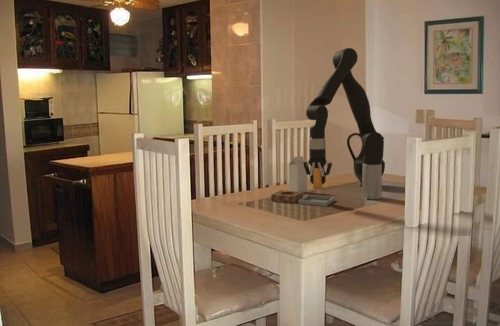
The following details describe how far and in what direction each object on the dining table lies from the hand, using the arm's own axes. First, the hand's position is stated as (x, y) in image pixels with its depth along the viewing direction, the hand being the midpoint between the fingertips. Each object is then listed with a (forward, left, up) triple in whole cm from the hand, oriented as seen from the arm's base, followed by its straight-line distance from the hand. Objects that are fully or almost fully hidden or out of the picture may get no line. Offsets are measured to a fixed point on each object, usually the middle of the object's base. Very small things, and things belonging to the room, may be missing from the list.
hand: (317, 183), depth 239 cm
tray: (+1, 0, -10) cm, 10 cm away
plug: (0, 0, -2) cm, 2 cm away
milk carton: (+19, -23, -10) cm, 31 cm away
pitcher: (-10, -53, -10) cm, 55 cm away
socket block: (+16, 0, -10) cm, 18 cm away
